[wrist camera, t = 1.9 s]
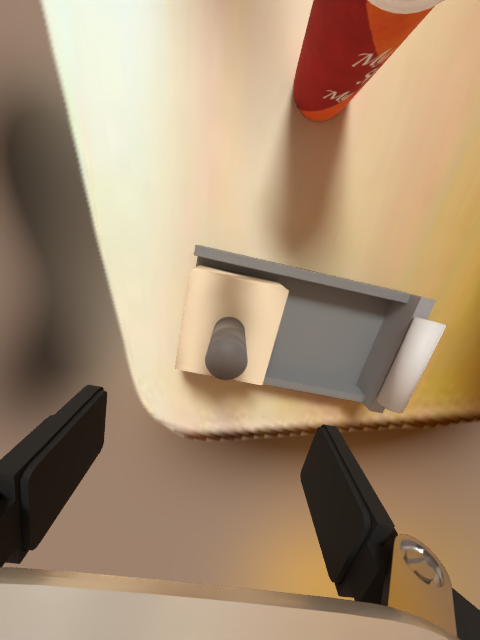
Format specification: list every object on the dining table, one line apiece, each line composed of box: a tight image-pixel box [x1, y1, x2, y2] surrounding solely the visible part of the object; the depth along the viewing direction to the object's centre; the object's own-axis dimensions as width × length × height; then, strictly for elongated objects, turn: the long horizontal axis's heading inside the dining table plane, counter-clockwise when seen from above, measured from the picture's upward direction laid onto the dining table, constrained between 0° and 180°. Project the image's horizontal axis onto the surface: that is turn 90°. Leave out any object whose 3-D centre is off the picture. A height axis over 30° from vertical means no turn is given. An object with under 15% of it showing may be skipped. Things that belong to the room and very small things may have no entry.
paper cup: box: [294, 0, 444, 121], centre depth 16 cm, size 8×8×14 cm
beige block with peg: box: [175, 265, 289, 385], centre depth 22 cm, size 9×10×12 cm
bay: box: [194, 245, 446, 413], centre depth 26 cm, size 26×14×8 cm, turn 78°
